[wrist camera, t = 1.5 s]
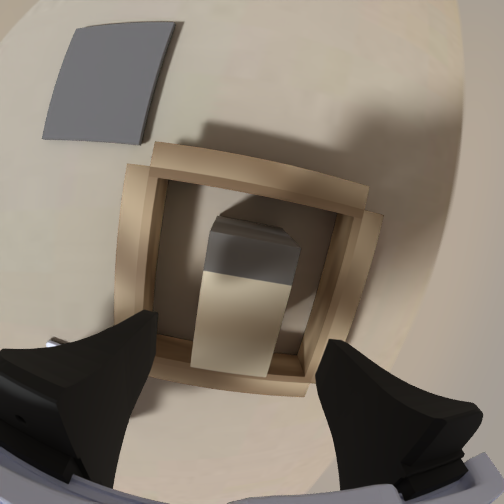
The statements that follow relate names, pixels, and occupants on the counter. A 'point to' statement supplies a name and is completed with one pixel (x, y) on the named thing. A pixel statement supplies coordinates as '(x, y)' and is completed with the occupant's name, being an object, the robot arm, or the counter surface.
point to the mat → (107, 83)
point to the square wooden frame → (259, 183)
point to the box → (243, 296)
